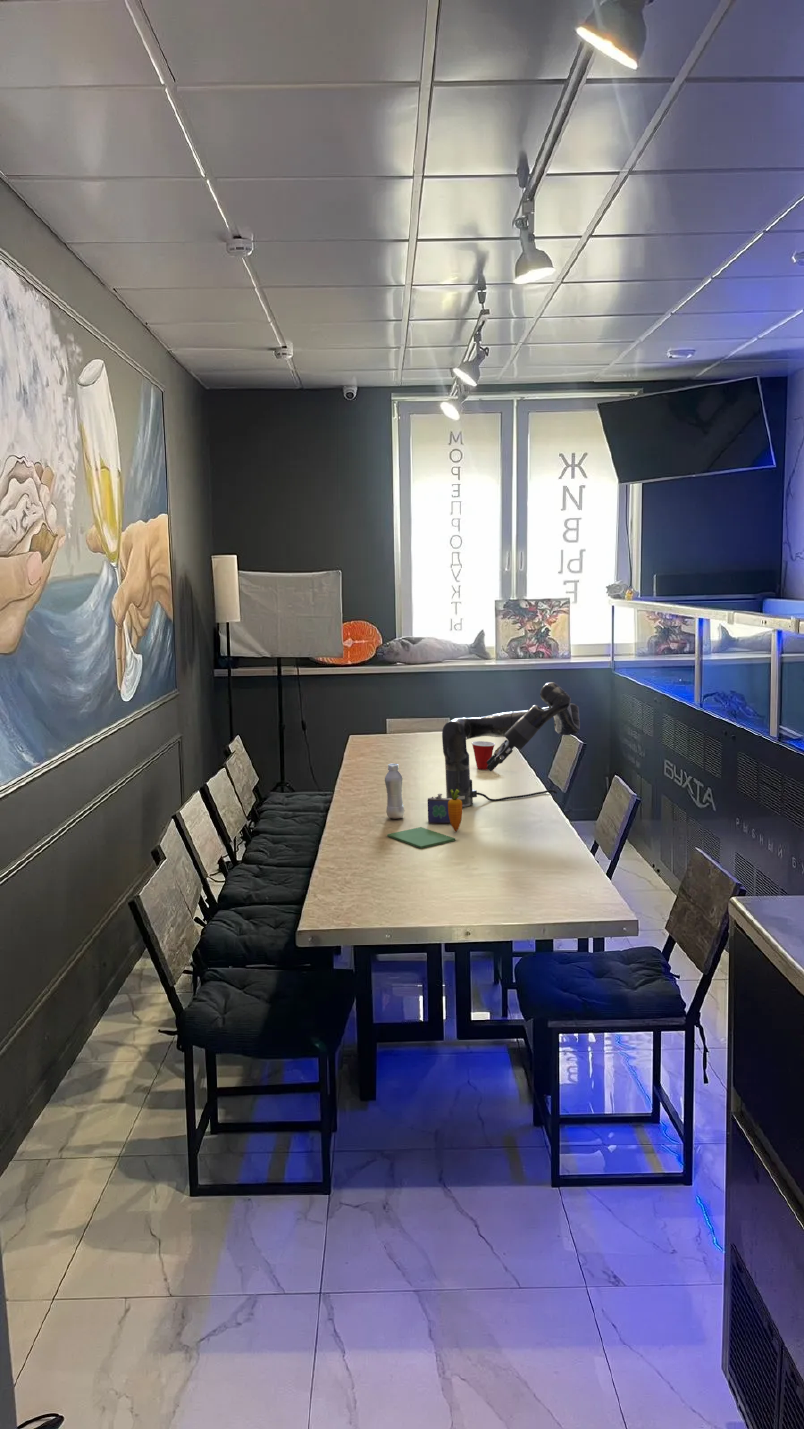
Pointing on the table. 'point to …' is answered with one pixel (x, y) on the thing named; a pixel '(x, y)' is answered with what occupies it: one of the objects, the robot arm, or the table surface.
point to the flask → (438, 810)
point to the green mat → (421, 837)
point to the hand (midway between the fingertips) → (488, 767)
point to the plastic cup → (482, 753)
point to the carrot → (455, 810)
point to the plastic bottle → (394, 792)
